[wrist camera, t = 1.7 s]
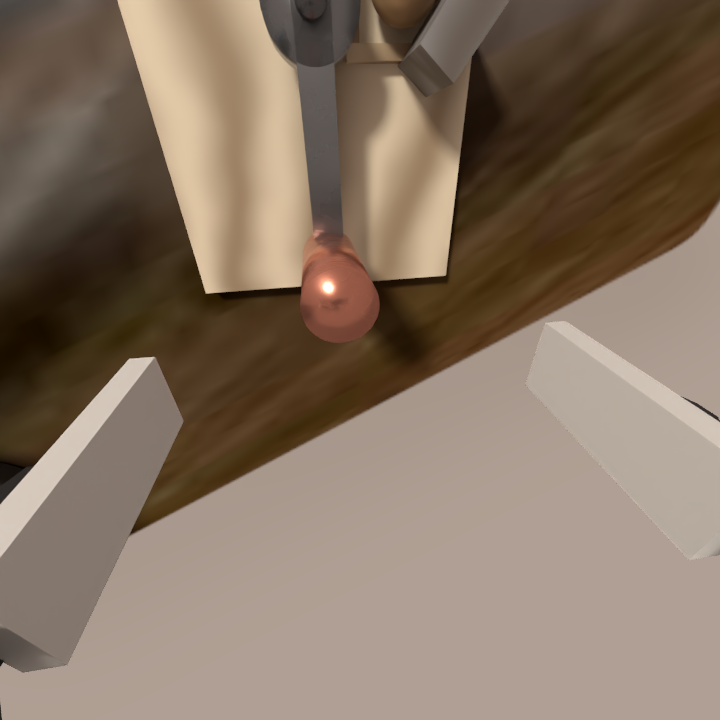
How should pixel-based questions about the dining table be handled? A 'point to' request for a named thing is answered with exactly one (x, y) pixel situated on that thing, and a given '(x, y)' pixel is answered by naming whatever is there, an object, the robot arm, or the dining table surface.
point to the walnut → (402, 11)
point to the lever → (324, 164)
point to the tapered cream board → (286, 137)
